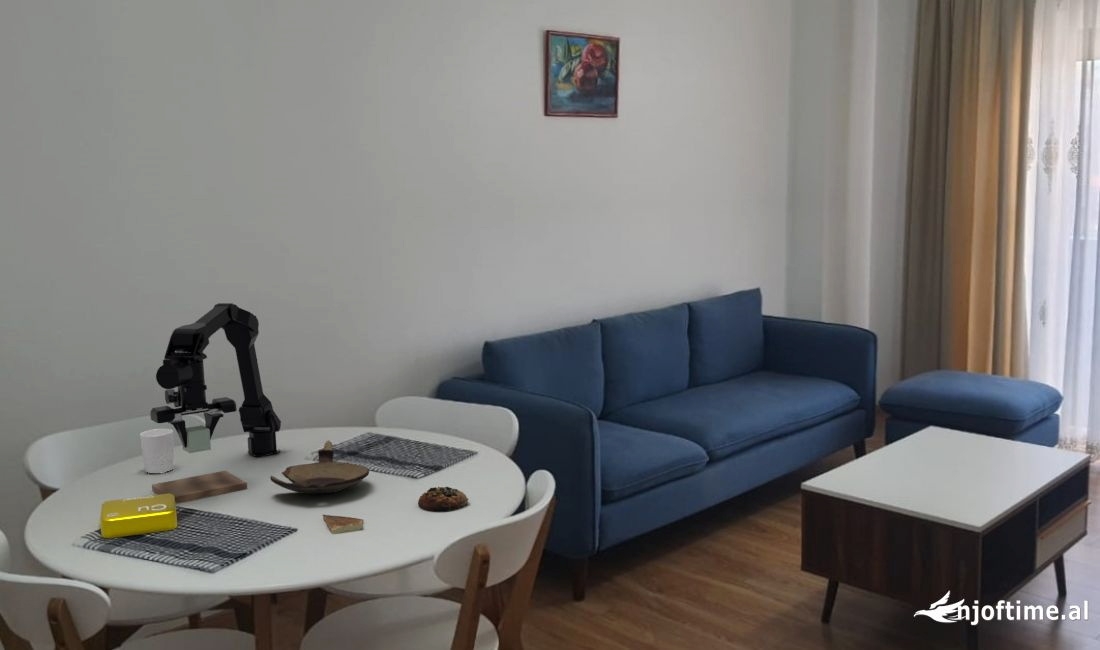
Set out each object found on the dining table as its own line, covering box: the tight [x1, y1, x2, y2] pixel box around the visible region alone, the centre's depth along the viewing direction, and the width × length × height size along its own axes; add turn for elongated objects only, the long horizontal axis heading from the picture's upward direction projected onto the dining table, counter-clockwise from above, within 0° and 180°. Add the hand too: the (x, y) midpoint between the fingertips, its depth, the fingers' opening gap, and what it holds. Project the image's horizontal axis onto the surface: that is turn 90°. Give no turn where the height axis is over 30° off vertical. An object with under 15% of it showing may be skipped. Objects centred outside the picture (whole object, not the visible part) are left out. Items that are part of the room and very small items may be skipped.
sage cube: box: [181, 424, 212, 454], centre depth 251 cm, size 5×5×5 cm
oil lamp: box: [269, 439, 370, 495], centre depth 252 cm, size 22×30×8 cm
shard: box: [322, 514, 365, 535], centre depth 226 cm, size 11×8×2 cm
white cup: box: [139, 428, 175, 474], centre depth 270 cm, size 8×8×10 cm
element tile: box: [99, 494, 178, 539], centre depth 229 cm, size 15×15×5 cm
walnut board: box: [151, 470, 248, 504], centre depth 253 cm, size 18×14×2 cm
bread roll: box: [417, 486, 469, 513], centre depth 237 cm, size 11×11×5 cm
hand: (196, 445), depth 252 cm, fingers closed on sage cube, 5 cm apart
